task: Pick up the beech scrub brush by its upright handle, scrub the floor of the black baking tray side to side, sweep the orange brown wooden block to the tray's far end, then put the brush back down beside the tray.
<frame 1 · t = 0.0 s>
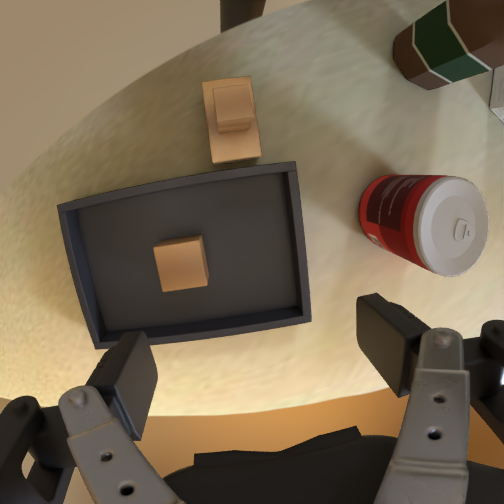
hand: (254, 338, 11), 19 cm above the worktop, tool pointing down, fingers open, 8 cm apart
tray: (185, 257, 29), on the worktop
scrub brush: (230, 125, 27), on the worktop
canned food: (389, 211, 30), on the worktop
orange brown wooden block: (184, 258, 29), resting on tray
small box: (503, 99, 28), on the worktop
beer bottle: (417, 61, 27), on the worktop
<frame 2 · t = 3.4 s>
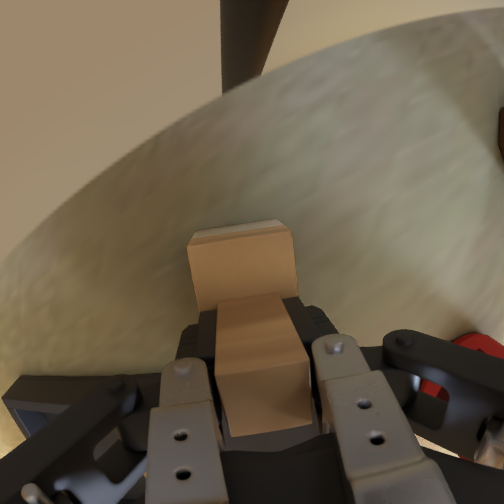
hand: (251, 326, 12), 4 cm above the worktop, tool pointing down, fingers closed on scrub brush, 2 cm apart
tray: (185, 452, 18), on the worktop
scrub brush: (246, 292, 16), on the worktop, touching gripper
canned food: (455, 372, 19), on the worktop
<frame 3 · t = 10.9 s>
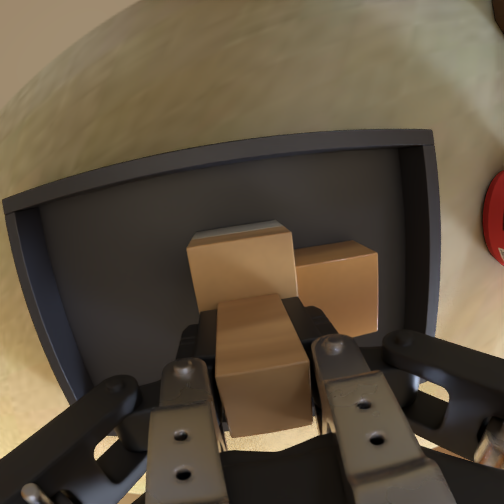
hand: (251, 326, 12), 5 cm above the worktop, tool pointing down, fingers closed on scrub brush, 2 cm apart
tray: (233, 290, 17), on the worktop
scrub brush: (245, 293, 16), point 1 cm above the worktop, touching orange brown wooden block, gripper
orange brown wooden block: (320, 281, 16), point 1 cm above the worktop, touching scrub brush
when the fingers open (4 cm above the worktop, at t = 17.7 s): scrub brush stays where it is, on the worktop.
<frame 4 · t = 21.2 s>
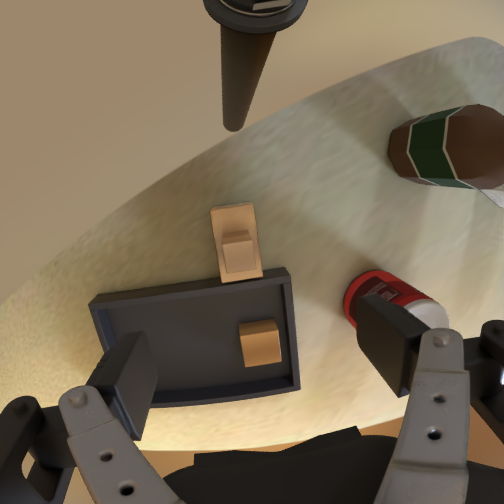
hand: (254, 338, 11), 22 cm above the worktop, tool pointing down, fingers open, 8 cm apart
tray: (198, 341, 35), on the worktop
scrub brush: (235, 237, 33), on the worktop
canned food: (370, 298, 36), on the worktop
orange brown wooden block: (258, 336, 35), resting on tray
small box: (494, 173, 34), on the worktop
beer bottle: (411, 152, 32), on the worktop
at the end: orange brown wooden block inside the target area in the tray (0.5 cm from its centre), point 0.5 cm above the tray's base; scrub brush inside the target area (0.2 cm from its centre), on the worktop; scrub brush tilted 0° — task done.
